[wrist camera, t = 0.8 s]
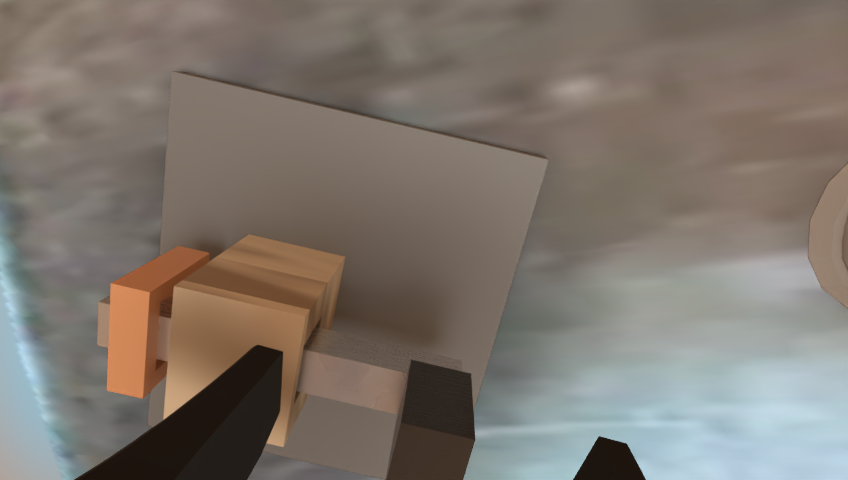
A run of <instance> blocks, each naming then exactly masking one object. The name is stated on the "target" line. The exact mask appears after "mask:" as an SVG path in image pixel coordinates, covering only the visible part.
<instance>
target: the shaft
mask: <svg viewBox="0 0 848 480" xmlns="http://www.w3.org/2000/svg"><path fill="white" fill-rule="evenodd" d="M172 303H173V294H172V295H171V296H169V297H168V298H166V299H165V300H164V301H162V302H161V303H160V316H159V330H158V344H157V358H156V359H159V360H163V361H167V362H168V353H169V341H170V328H171V315H172ZM109 320H110V296H108V297H106V298H105V299H103V300H101V301H99V304H98V337H97V345H98V346H102V347H107V348H108V346H109ZM296 391H298V392H302V393H306V394H311V395H315V396H319V397H324V398H328V399H332V400H337V401H341V402H345V403H350V404H354V405H358V406H363V407H367V408H371V409H376V410H380V411H384V412H389V413H393V414H397V419H396V424H395V430H394V435H393V441H392V447H391V452H390V458H389V463H388V469H387V475H386V480H463V478H464V474H465V471H466V468H467V465H468V461H469V458H470V455H471V452H472V448H473V445H474V442H475V430H474V413H473V396H472V378H471V373H467V372H462V360H458V359H453V358H449V357H445V356H440V355H436V354H432V353H428V352H423V351H419V350H415V349H410V348H406V347H402V346H397V345H393V344H389V343H384V342H380V341H376V340H371V339H367V338H363V337H358V336H354V335H350V334H345V333H341V332H337V331H333V330H328V329H324V328H320V327H315V328H314V330H313V331H312V333H311V335H310V336H309V338H308V340H307V341H306V343H305V345H304V347H303V353H302V359H301V365H300V371H299V377H298V383H297V388H296Z"/></svg>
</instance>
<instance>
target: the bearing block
mask: <svg viewBox="0 0 848 480" xmlns="http://www.w3.org/2000/svg"><path fill="white" fill-rule="evenodd" d="M344 261H345V256H340V255H336V254H332V253H327V252H323V251H319V250H315V249H310V248H306V247H302V246H297V245H293V244H289V243H285V242H280V241H276V240H272V239H267V238H263V237H259V236H254V235H250V234H249V235H247V236H246V237H244V238H243V239H241V240H240V241H238V242H237V243H236V244H234V245H233V246H231V247H230V248H228V249H227V250H225V251H224V252H223V253H221V254H220V255H218V256H217V257H215V258H214V259H212V260H211V261H209V262H208V263H207V264H205V265H204V266H202V267H201V268H199V269H198V270H196V271H195V272H193V273H192V274H191V275H189V276H188V277H186V278H185V279H183V280H182V281H180V282H179V283H178V284H176V285H175V286H174V290H173V303H172V315H171V328H170V341H169V353H168V366H167V378H166V391H165V404H164V416H163V420H164V419H165V418H167V417H168V416H169V415H171V414H172V413H173V412H175V411H176V410H177V409H178V408H180V407H181V406H182V405H184V404H185V403H186V402H187V401H189V400H190V399H191V398H193V397H194V396H195V395H196V394H198V393H199V392H200V391H201V390H203V389H204V388H205V387H206V386H208V385H209V384H210V383H211V382H213V381H214V380H215V379H216V378H217V377H219V376H220V375H221V374H222V373H223V372H225V371H226V370H227V369H228V368H229V367H230V366H232V365H233V364H234V363H235V362H236V361H237V360H239V359H240V358H241V357H242V356H243V355H244V354H245V353H247V352H248V351H249V350H250V349H251V348H252V347H254V346H256V345H261V346H265V347H269V348H272V349H276V350H280V351H283V367H282V387H281V406H280V413H279V415H278V417H277V420H276V422H275V424H274V427H273V429H272V431H271V434H270V436H269V438H268V441H267V444H272V445H276V446H280V447H284V445H285V443H286V441H287V439H288V437H289V435H290V432H291V430H292V428H293V426H294V424H295V422H296V420H297V418H298V416H299V414H300V412H301V410H302V408H303V406H304V404H305V401H306V399H307V397H308V395H309V394H306V393H302V392H298V391H296V388H297V383H298V377H299V371H300V365H301V359H302V353H303V347H304V345H305V343H306V341H307V340H308V338H309V336H310V335H311V333H312V331H313V330H314V328H315V327H320V328H324V329H328V330H332V325H333V320H334V314H335V309H336V304H337V298H338V293H339V288H340V282H341V277H342V272H343V266H344Z"/></svg>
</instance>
